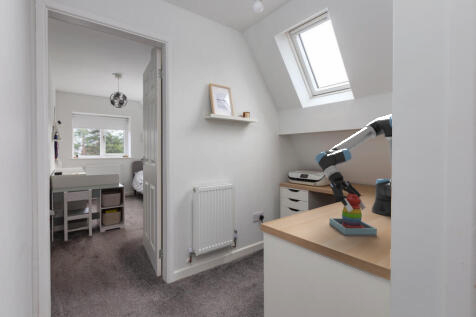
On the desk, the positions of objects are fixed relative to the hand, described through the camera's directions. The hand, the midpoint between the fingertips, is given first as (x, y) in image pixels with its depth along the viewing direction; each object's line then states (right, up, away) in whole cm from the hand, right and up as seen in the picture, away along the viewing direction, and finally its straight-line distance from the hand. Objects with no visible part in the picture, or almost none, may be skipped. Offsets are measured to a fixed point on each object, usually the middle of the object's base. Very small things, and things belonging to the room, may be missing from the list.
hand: (357, 209), depth 117 cm
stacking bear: (-1, -10, +4) cm, 11 cm away
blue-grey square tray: (-2, -11, +3) cm, 12 cm away
